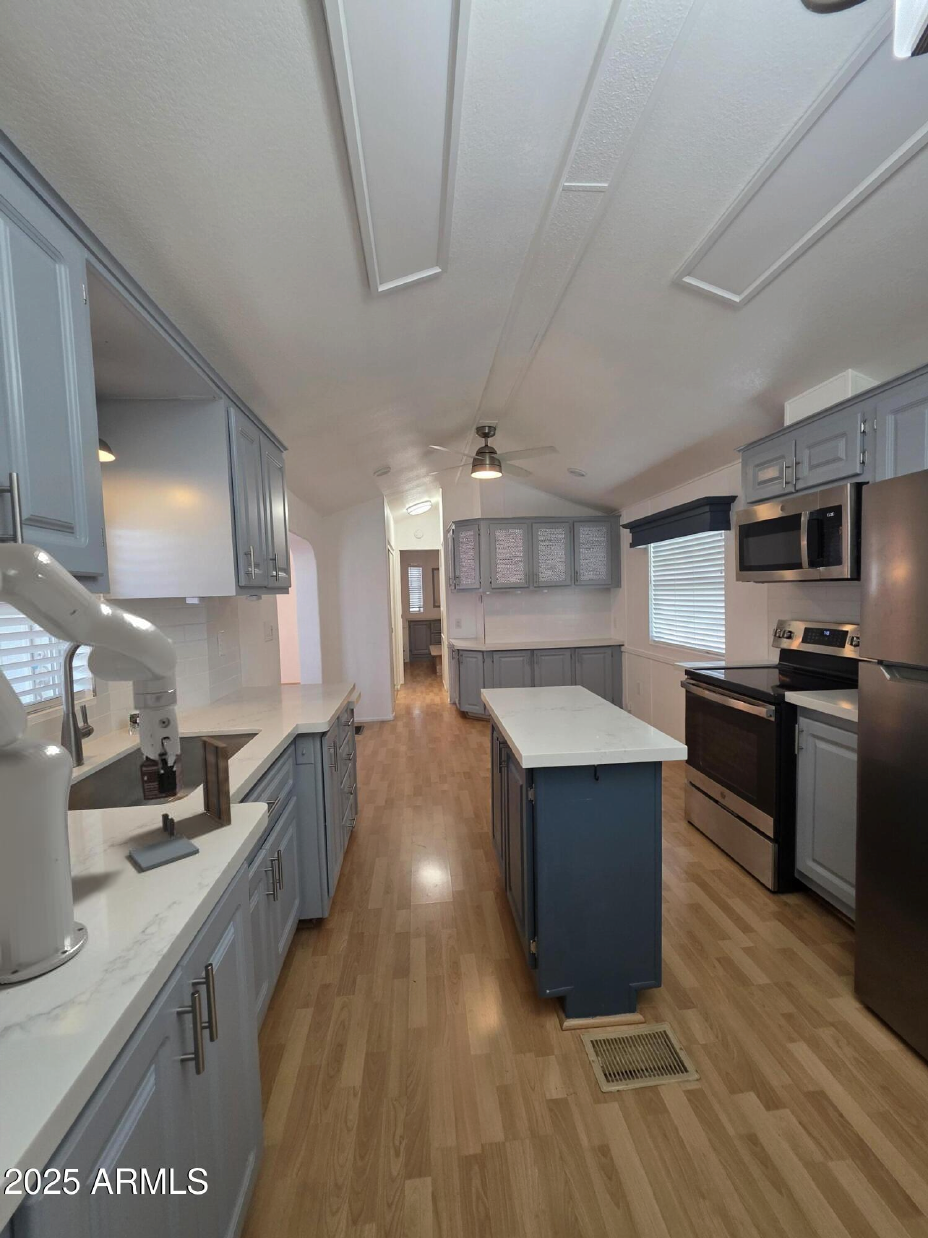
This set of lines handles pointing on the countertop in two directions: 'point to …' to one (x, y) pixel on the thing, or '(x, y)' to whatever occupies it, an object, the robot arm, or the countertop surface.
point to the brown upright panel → (211, 784)
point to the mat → (163, 852)
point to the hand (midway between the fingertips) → (160, 785)
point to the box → (150, 779)
